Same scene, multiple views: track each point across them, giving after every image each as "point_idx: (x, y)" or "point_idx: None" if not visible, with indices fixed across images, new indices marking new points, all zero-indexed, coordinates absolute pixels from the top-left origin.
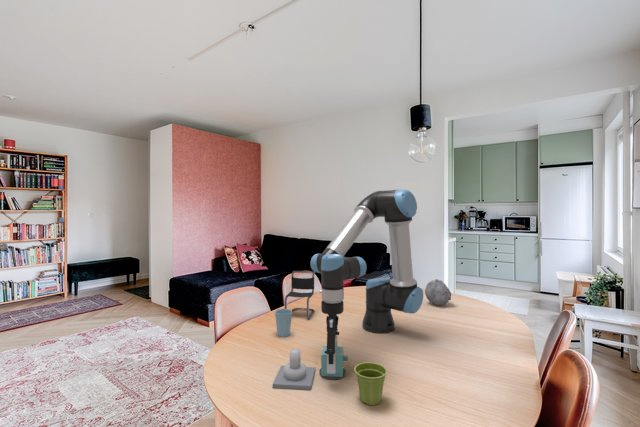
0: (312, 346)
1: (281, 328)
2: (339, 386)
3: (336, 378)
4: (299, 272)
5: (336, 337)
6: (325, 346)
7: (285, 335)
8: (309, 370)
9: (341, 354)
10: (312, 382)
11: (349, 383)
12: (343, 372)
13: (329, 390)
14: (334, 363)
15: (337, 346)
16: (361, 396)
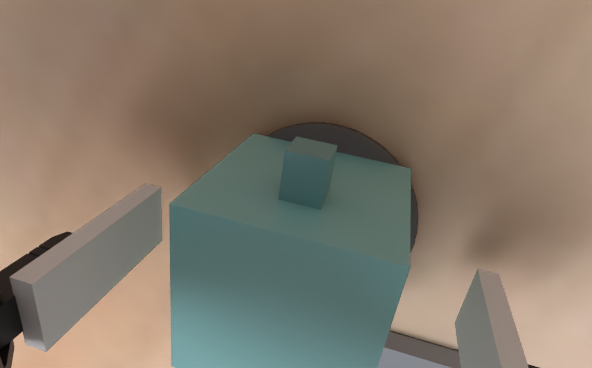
0: (4, 258)
1: None
2: (516, 204)
3: (416, 210)
4: None
5: (44, 285)
6: (182, 354)
7: None
8: None
9: (375, 269)
10: (429, 344)
11: (491, 124)
12: (341, 147)
13: (552, 275)
14: (515, 346)
15: (170, 257)
16: None
